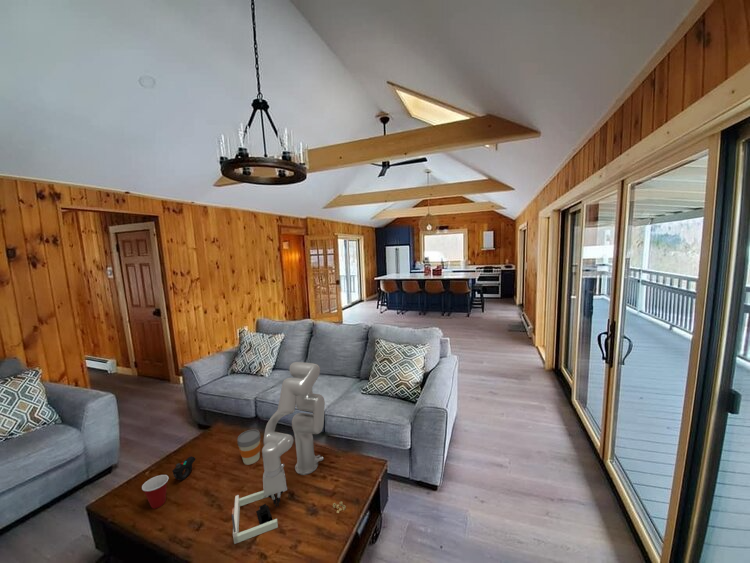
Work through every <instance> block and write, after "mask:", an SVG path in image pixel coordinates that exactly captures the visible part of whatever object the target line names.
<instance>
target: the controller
mask: <svg viewBox="0 0 750 563" xmlns="http://www.w3.org/2000/svg"><path fill="white" fill-rule="evenodd" d="M195 461H196V458H195V456H189V457H187V458H186V459H185V460H184V461H182V462H181V463H180V462H178V463H176V464H175V468H174V469H173V470H172V475H173V477H174V479H176V480H178V481H183V480H186V479H187V477H188V476H189V475H190V474H191V472H192V469H193V463H194V462H195Z"/></svg>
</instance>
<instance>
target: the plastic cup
mask: <svg viewBox="0 0 750 563" xmlns="http://www.w3.org/2000/svg"><path fill="white" fill-rule="evenodd" d="M169 479H170V478H169V476H168V475H167V474H160V475H156V476H153V477H151V478H149V479H148V480H147V481H145V482H144V483H143V484H142V485H141V490H142V491H143V492H144V495H145V496H146V499H147V501H148V503H149V505H150V507H151V508H152V509H158V508H160V507H162V506H163V505H164V504H165V503H166V500H167V488H168V486H167V485H168V481H169Z"/></svg>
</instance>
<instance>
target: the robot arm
mask: <svg viewBox="0 0 750 563" xmlns="http://www.w3.org/2000/svg"><path fill="white" fill-rule="evenodd" d="M320 372H321V367H320V366H319V365H318V364H317V363H312V362H302V361H294V362H292V363H291V364H290V365H289V373H290V375H291V376H292V377H287V378H285V379H284V380H283V381H282V384H281V390H280V395H279V401H278V405H277V410H276V411H275V412H274V413H273V414H272V415H271V417H270V419H269V420H268V422H267V423H266V426H265V429H264V434H263V447H262V448H261V453H262V454H261V455H262V462H263V470H264V472H263V473H262V484H263V485H262V487H263V490H264V498H263V499H266V498H270V499H272V501H273V505H275V506H274V507H276V508H277V507H280V506H279V505H280V503H281V496H282V494H283V493H284V492H286V491H288V485H287V479H286V474H285V470H284V467H285V463H282V462H281V456H282V455H283V454H284V453H287V452H288V451H289V450H290V449H291V447H292V446H293V444H294V442H295V450H296V461H297V462H296V464H295V465H294V469H295V472H296V473H297V474H298V475H301V476H305V475H309V474H311V473H313V472H315V471H316V470H317V468H318V466H319V462H321V461H322V462H323V461H324V457H323V456H321V454H317V455H315V448H314V436H313V435H319V434H320V433H322V430H323V428H324V422H325V406H326V405H325V404H326V403H325V398H324V396H323V395H322V394H319V393H314V392H313V387H314V385H315V383H316V382H317V380H318V379H319V376H320ZM296 409H297V410H298V411H302V412H297V413H295V410H296ZM293 413H295V414H294V416H293V417H292V419H291V428H292V430H293V434H294V437H293V435H291V434H288V433H282V432H278V431H276V428H277V424H278V422H279V421H280V420H281V419H282V418H284V417H286V416H288V415H291V414H293ZM294 440H295V441H294ZM265 497H266V498H265Z"/></svg>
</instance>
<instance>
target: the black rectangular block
mask: <svg viewBox="0 0 750 563" xmlns="http://www.w3.org/2000/svg"><path fill="white" fill-rule="evenodd" d="M258 508H259V509H258V510H256V511H255V512H256V515H257V516H256V517H257V520H258V524H259V525H261V524H264V523H266V522H269V521H272V520H274V519H273V515H272V513H271V511H270V507H269V505H267V504H266V503H263V504H262V505H259V507H258Z"/></svg>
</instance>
